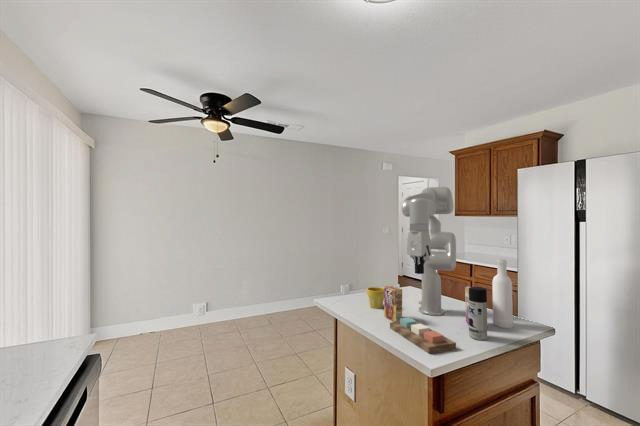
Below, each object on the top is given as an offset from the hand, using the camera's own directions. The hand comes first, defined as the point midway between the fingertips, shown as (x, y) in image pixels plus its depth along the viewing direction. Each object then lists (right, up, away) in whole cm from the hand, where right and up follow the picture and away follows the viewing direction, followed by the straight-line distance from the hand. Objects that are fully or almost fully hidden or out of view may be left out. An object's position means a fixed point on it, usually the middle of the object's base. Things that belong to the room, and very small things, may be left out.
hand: (419, 273), depth 118 cm
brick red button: (+3, -25, -8) cm, 26 cm away
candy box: (-5, -27, +23) cm, 36 cm away
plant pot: (-9, -28, +42) cm, 51 cm away
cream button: (0, -25, 0) cm, 25 cm away
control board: (0, -26, 0) cm, 26 cm away
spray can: (+24, -27, +1) cm, 36 cm away
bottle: (+43, -27, +14) cm, 53 cm away
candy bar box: (+29, -27, +14) cm, 42 cm away
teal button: (-2, -25, +8) cm, 26 cm away
